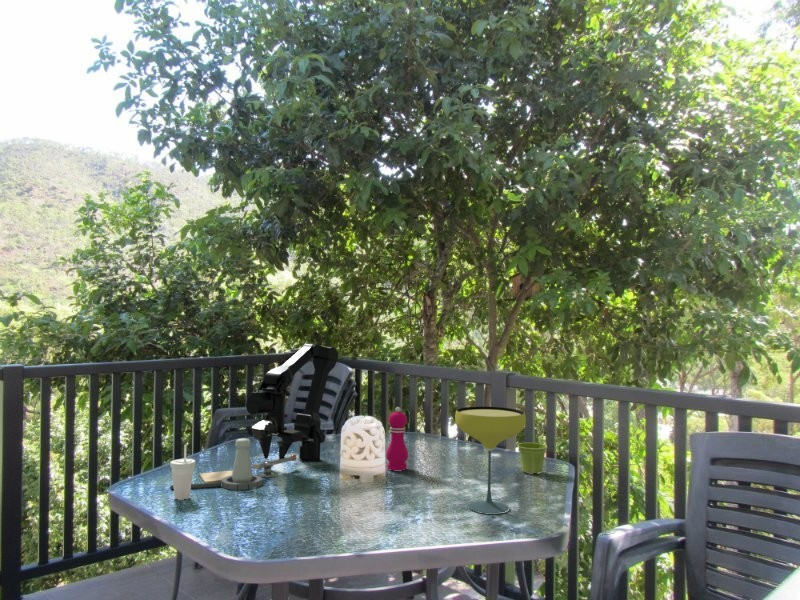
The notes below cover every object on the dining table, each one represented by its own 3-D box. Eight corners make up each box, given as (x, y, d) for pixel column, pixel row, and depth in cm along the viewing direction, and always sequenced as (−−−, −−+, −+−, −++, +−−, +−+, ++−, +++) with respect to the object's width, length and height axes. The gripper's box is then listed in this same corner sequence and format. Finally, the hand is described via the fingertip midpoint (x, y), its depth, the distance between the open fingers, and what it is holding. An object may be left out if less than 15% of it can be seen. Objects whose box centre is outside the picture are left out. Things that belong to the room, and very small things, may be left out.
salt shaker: (246, 487, 176) (247, 441, 177) (227, 486, 178) (229, 440, 178) (255, 482, 182) (256, 437, 183) (237, 481, 183) (238, 436, 184)
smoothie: (189, 501, 162) (191, 447, 163) (165, 501, 162) (166, 447, 163) (198, 494, 169) (199, 442, 169) (174, 494, 169) (176, 442, 169)
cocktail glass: (539, 513, 158) (540, 414, 159) (482, 523, 149) (483, 418, 150) (494, 494, 174) (495, 404, 175) (440, 503, 165) (442, 408, 166)
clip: (291, 458, 201) (291, 453, 201) (299, 460, 199) (299, 455, 199) (251, 468, 187) (252, 463, 187) (259, 470, 185) (259, 465, 185)
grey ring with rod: (259, 478, 187) (260, 473, 187) (263, 488, 176) (263, 482, 176) (171, 483, 179) (171, 478, 179) (169, 494, 169) (169, 488, 169)
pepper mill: (409, 467, 205) (410, 405, 205) (407, 472, 197) (408, 408, 198) (387, 466, 205) (388, 405, 206) (384, 471, 198) (385, 408, 199)
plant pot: (539, 477, 194) (539, 449, 194) (511, 472, 199) (512, 445, 200) (551, 472, 201) (552, 445, 201) (524, 467, 207) (525, 441, 207)
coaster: (232, 472, 193) (232, 470, 193) (240, 480, 185) (240, 478, 185) (199, 475, 189) (199, 473, 189) (205, 483, 180) (205, 481, 180)
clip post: (274, 473, 193) (274, 464, 193) (276, 477, 188) (276, 468, 188) (258, 474, 192) (258, 465, 192) (259, 478, 187) (260, 469, 187)
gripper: (235, 410, 196) (233, 460, 196) (281, 418, 186) (278, 470, 186) (260, 406, 206) (258, 453, 205) (304, 413, 196) (302, 463, 196)
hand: (273, 460), depth 198 cm, fingers open, 6 cm apart
